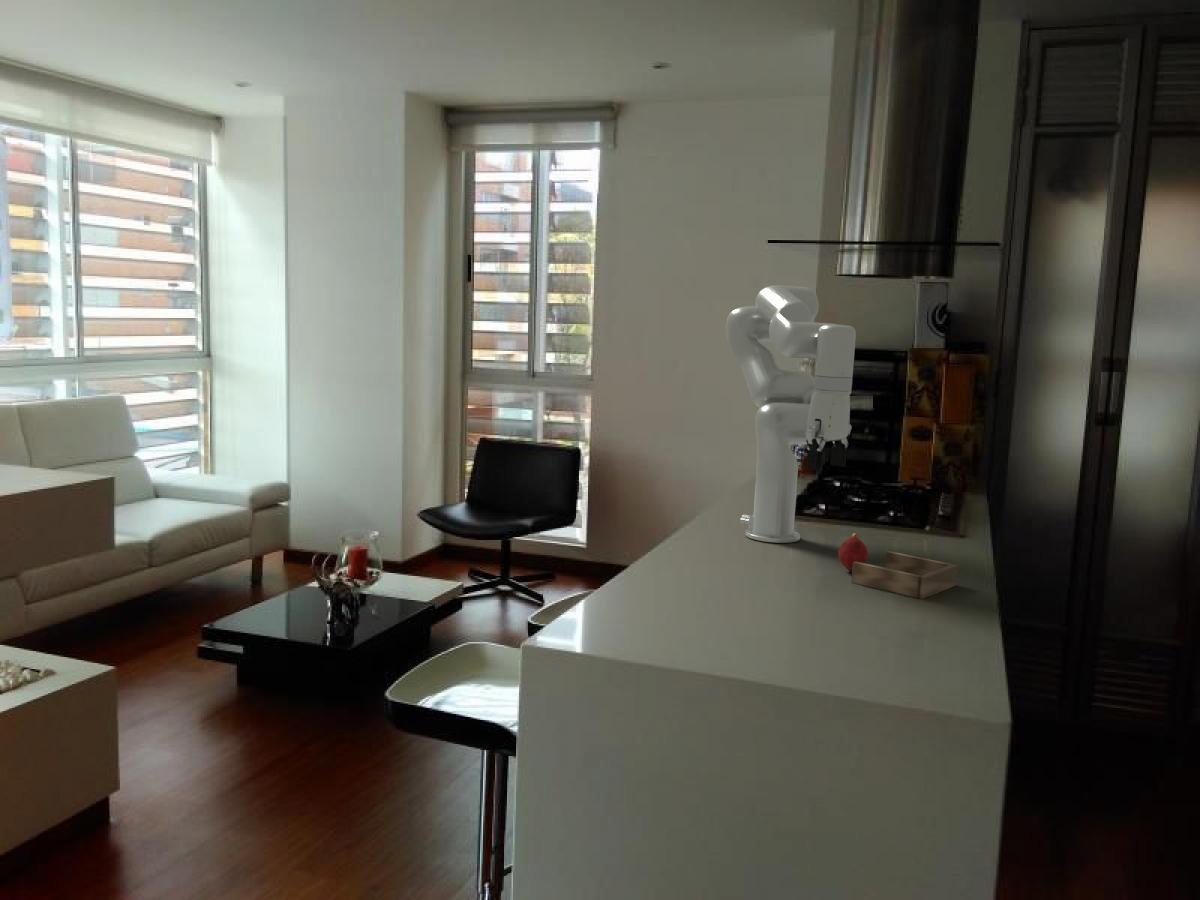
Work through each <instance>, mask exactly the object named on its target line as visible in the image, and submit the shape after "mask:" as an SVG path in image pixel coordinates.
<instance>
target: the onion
mask: <svg viewBox="0 0 1200 900" xmlns="http://www.w3.org/2000/svg"><path fill="white" fill-rule="evenodd" d="M858 536H859V535H858V534H857V533H852V535H851V536H850V537H849V538H848V539H846V540H843V542H842V543H841V545H840V546H839V549H838V560H839V561H840V564H841V565H842V566H843V567H844V568H845V569H847V571H848V572H850V573H852V568H853V562H861V563H865V564H867V560H868V558H869V552H868V549H867V546H866V544H865V543H864V542H863V541H862V540H861V539H860V538H859V537H858Z"/></svg>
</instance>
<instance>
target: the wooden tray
mask: <svg viewBox="0 0 1200 900" xmlns="http://www.w3.org/2000/svg"><path fill="white" fill-rule="evenodd" d="M884 562H885V563H884V567H883V566H879V565H874V564H869V563H861V562H853V568H852V572H851V583H852V584H857V585H860V586H861V585H862V586H865V587H870V588H874V589H876V590H877V589H879V590H881V591H887V592H890V593H891V592H892V593H896V594H898V595H904V596H908V597H912V598H917V599H921V600H924V599H926V598H929V597H931V596H934V595H936V594H938V593H940V592H944V591H946V590H948V589H950V588H952V587H956V586H957V584H958V583H957V582H958V572H959V564H953V563H949V562H944V561H939V560H933V559H930V558H924V557H919V556H914V555H911V554H910V555H909V554H906V553H900V552H897V551H896V552H895V551H892V550H891V551H890V550H888V551H886V552H885V560H884Z"/></svg>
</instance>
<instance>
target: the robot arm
mask: <svg viewBox="0 0 1200 900" xmlns="http://www.w3.org/2000/svg"><path fill="white" fill-rule="evenodd" d="M819 302H820V301H819V298H818V296H817V293H816V292H815V291H814V290H813V289H811V288H810V287H807V286H796V285H778V284H776V285H769V286H766V287H764V288H762V289H761V290H760V291H759V292H758V294H757V295H756V297H755V303H754V305H749V306H748V305H747V306H741V307H737V308H735V309H733V310H732V311H730V313H729V314H728V316H727V319H726V323H725V335H726V340H727V344H728V348H729V350H730V352H731V354H732V356H733V358H734V360H735V361H736V362H737V363H738V365H739V367H740V368H741V371H742V374H743V377H744V380H745V383H746V386H747V389H748V391H749V394H750V397H751V400H752V401H753V403H754V405H755V406H757V407H758V409H757V412H756V414H755V419H754V427H755V436H756V469H755V486H754V500H753V514H752V515H750V514H745V513H744V514H742V515H741V517H740V519H739V522H740V523H741V524H745V525H748V528H746V529H745V536H746V537H747V538H748V539H749V538H750V539H751V540H754V541H755V540H756V541H759V542H766V543H773V544H776V543H777V544H787V543H795V542H798V541H800V540H801V534H800V533H799V532H798V531H795V529H794V528H795V516H796V515H795V514H796V502H797V488H798V476H799V475H798V473H799V463H798V460H797V456H795V454H794V451H792V449H791V447H790V446H792V445H807V447H806V450H807V451H808V452H807V466H806V469H808V470H810V471H817V472H822V471H823V468H824V467H823V465H824V463H823V462H824V456H825V455H824V453H825V452H824V451H823V449H824V447H825V445H826V442H832V443H833V445H832V446H831V451H830V465H831V466H835V467H842V468H843V467H845V466H846V462H847V461H846V460H847V448H848V446H849V439H850V434H851V430H852V425H851V423H850V421H851V420H850V417H851V416H850V415H851V413H850V412H851V397H850V396H851V394H852V388H853V387H852V386H853V377H854V376H853V375H854V374H853V372H854V364H855V363H854V362H855V350H856V338H857V336H856V334H857V332H856V328H854V327H853V326H851V325H848V324H847V325H846V324H845V325H844V324H837V323H827V322H814V321H815V318H817V315H818V312H819V307H820V305H819V304H820V303H819ZM761 342H770V343H771V345H772V347H773V348H774V349H775V350H776V351H777V352H779V354H781V355H782V356H785V357H788V358H791V359H793V358H795V359H815V368H814V376H813V375H812V374H811V373H809V372H806V371H803V370H786V369H782V368H780V366H779V364H778V362H777V359H776V357H775V356H774V354H773V353H772V351H770V349H768V348H767V347H766V346H765V345H763V344H762V343H761Z"/></svg>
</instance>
